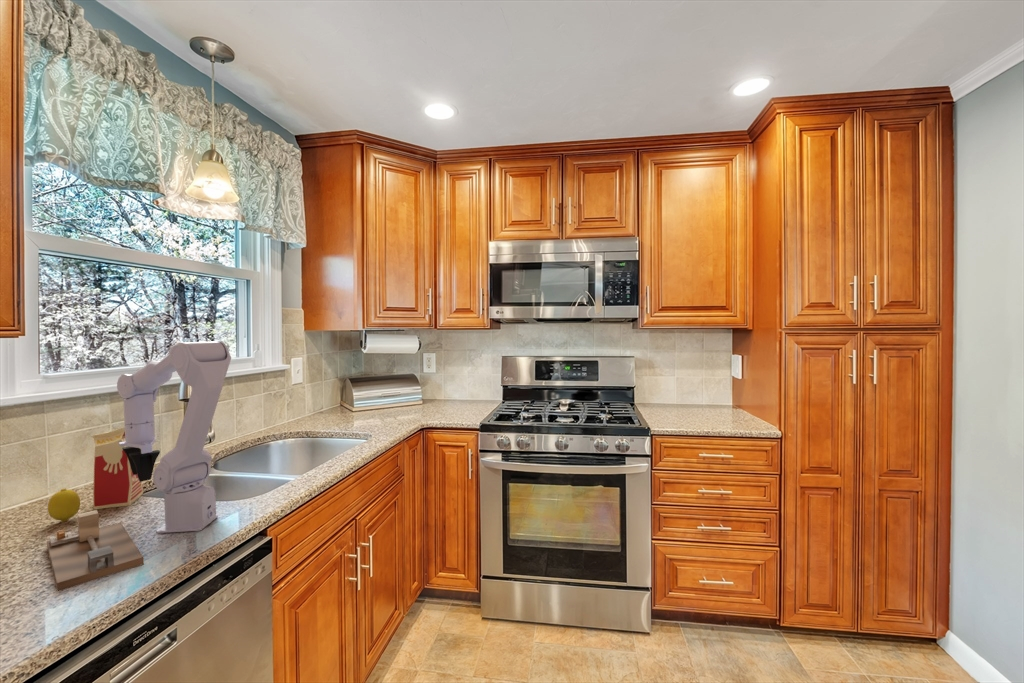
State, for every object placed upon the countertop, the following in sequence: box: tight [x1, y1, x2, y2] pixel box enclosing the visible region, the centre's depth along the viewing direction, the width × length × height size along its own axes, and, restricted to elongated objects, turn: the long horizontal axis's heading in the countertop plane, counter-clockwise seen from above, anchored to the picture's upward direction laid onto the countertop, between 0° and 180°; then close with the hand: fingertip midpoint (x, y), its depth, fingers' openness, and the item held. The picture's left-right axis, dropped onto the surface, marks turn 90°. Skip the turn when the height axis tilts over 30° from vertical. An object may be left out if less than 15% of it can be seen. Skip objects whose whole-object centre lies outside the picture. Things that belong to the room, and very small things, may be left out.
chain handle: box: [49, 509, 100, 550], centre depth 93 cm, size 18×7×5 cm, turn 48°
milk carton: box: [90, 426, 144, 511], centre depth 122 cm, size 9×9×20 cm
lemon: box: [47, 488, 81, 523], centre depth 110 cm, size 6×6×8 cm
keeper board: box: [46, 522, 145, 592], centre depth 93 cm, size 24×12×4 cm, turn 48°
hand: (141, 477), depth 113 cm, fingers open, 7 cm apart
